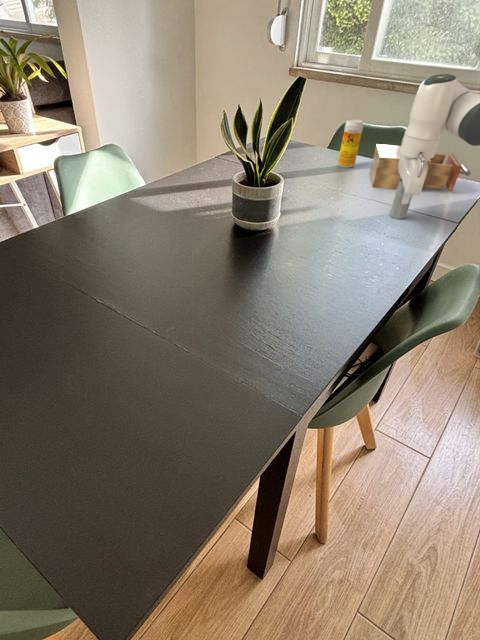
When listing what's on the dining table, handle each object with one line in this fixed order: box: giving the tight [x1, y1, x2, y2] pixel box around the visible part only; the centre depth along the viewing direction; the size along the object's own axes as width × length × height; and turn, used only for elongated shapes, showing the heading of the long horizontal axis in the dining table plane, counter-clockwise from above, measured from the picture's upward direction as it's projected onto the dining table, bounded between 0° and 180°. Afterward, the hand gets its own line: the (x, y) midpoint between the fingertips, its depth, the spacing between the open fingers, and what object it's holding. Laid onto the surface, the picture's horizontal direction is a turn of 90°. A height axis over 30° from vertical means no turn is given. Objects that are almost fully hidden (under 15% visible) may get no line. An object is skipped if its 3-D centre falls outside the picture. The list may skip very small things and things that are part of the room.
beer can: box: [337, 118, 364, 169], centre depth 153 cm, size 6×6×15 cm
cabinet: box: [369, 143, 431, 191], centre depth 143 cm, size 16×15×10 cm
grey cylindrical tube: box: [389, 179, 414, 220], centre depth 122 cm, size 4×4×10 cm
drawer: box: [423, 152, 472, 192], centre depth 141 cm, size 19×13×8 cm
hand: (402, 198), depth 122 cm, fingers closed on grey cylindrical tube, 4 cm apart
